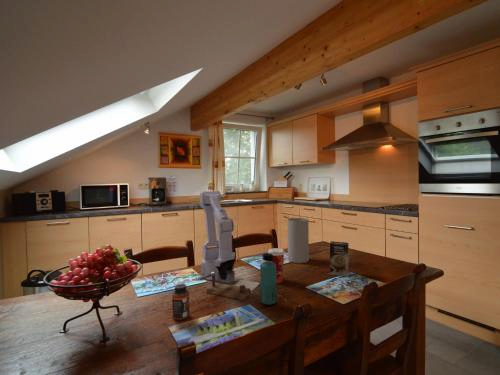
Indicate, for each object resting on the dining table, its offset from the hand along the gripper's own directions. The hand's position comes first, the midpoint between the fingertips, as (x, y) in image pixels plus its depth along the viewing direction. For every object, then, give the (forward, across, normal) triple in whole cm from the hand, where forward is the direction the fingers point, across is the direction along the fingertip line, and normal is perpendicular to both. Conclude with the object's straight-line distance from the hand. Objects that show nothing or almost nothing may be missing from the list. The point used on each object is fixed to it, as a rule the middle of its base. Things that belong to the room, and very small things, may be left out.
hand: (225, 277), depth 113 cm
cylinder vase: (+7, +56, -18) cm, 59 cm away
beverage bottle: (+7, -3, -21) cm, 22 cm away
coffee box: (+7, +42, -43) cm, 61 cm away
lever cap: (+1, 0, 0) cm, 1 cm away
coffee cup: (+7, +21, -16) cm, 27 cm away
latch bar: (0, -3, +7) cm, 8 cm away
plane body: (+7, 0, -1) cm, 7 cm away
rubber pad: (+7, +10, -5) cm, 13 cm away
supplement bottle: (+7, -24, +5) cm, 26 cm away
